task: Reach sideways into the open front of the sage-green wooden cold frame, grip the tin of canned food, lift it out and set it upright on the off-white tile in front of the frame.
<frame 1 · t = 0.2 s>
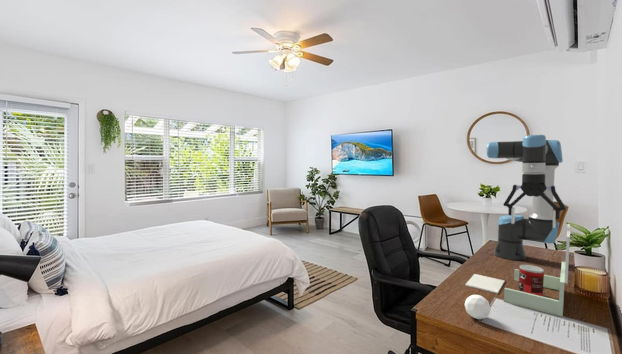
hand: (532, 225, 123), 27 cm above the table, tool pointing down, fingers open, 13 cm apart
tile pad: (485, 283, 131), on the table
canned food: (530, 295, 121), on the table
ball: (477, 317, 103), on the table
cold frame: (533, 295, 120), on the table
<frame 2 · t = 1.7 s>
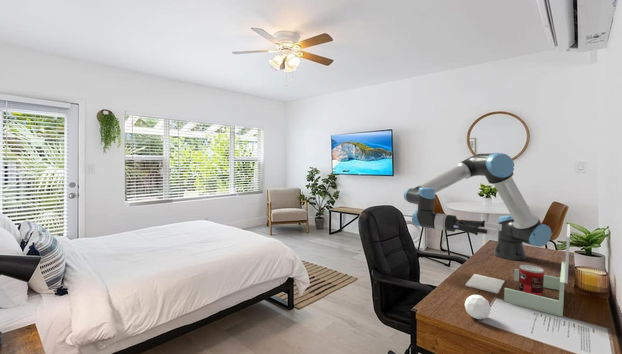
hand: (499, 230, 127), 24 cm above the table, tool horizontal, fingers open, 13 cm apart
nothing on the table moved.
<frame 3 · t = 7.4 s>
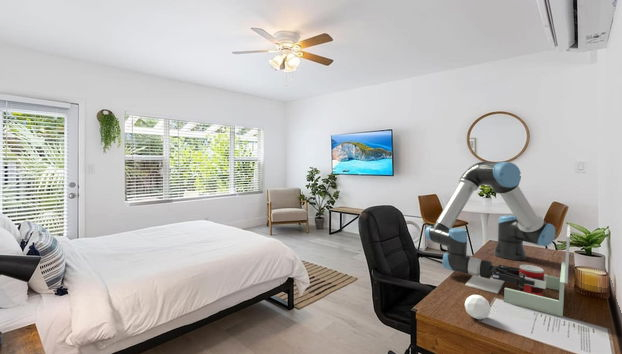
hand: (546, 281, 117), 7 cm above the table, tool horizontal, fingers closed on canned food, 8 cm apart
canned food: (530, 295, 121), on the table, touching gripper
everything else where it was.
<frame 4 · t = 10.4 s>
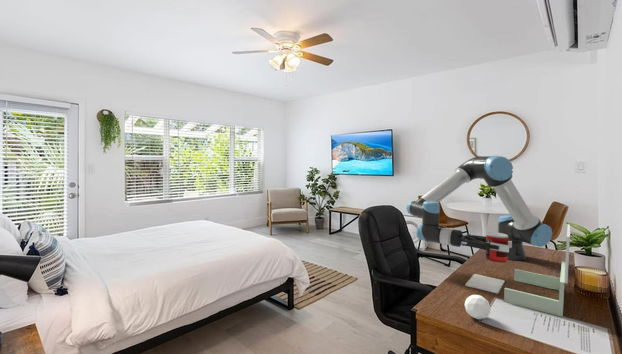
hand: (510, 246, 124), 18 cm above the table, tool horizontal, fingers closed on canned food, 8 cm apart
canned food: (496, 260, 128), point 11 cm above the table, touching gripper
everything else where it was.
when the fingers open (9 cm above the table, at t = 13.5 s): canned food drops 1 cm, resting on tile pad.
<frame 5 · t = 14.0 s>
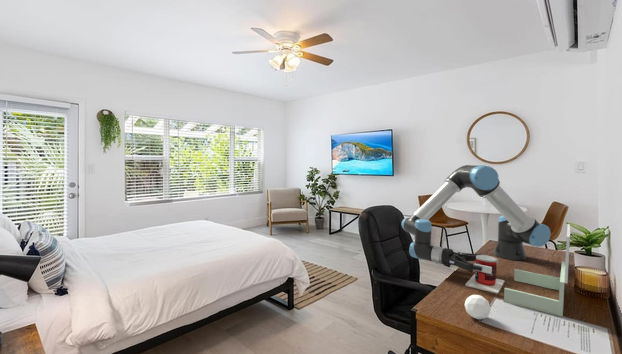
hand: (494, 266, 129), 9 cm above the table, tool horizontal, fingers open, 13 cm apart
canned food: (485, 282, 131), resting on tile pad
everything else where it was.
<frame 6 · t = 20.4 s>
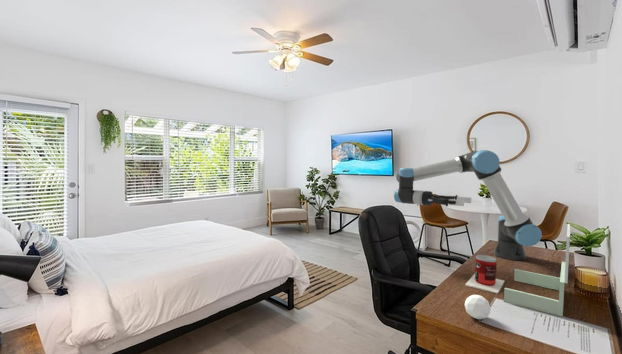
hand: (467, 201, 145), 34 cm above the table, tool horizontal, fingers open, 13 cm apart
nothing on the table moved.
at the end: canned food inside the target area (0.1 cm from its centre), resting on tile pad; canned food tilted 0°; the gripper is holding nothing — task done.
